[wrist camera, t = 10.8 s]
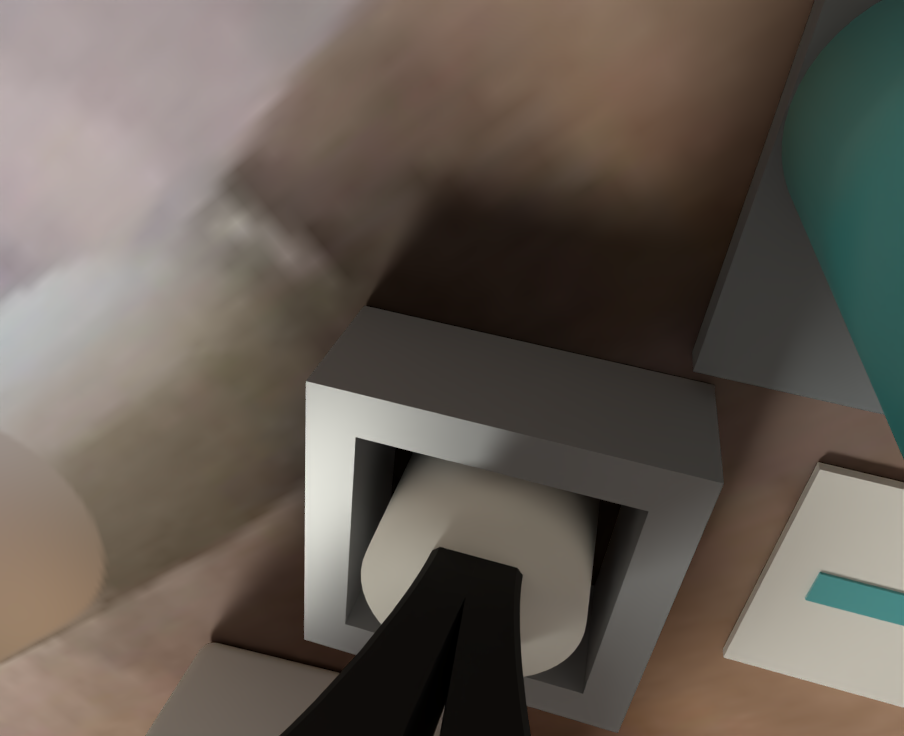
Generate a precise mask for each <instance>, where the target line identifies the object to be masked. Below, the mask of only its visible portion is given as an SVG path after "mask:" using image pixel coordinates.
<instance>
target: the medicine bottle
mask: <svg viewBox="0 0 904 736" xmlns="http://www.w3.org/2000/svg"><path fill="white" fill-rule="evenodd" d="M339 674H340V673H339V672H335V671H330V670H326V669H322V668H318V667H314V666H310V665H306V664H302V663H298V662H294V661H290V660H286V659H281V658H277V657H273V656H269V655H265V654H261V653H257V652H253V651H249V650H245V649H241V648H236V647H232V646H228V645H224V644H220V643H208V644H206V645H205V646H204V647H203V648H202V649H200V650H199V652H198V654H197V655H196V657H195V658H194V660H193V661H192V663H191V665H190V666H189V668H188V669H187V671H186V672H185V674H184V676H183V677H182V679H181V680H180V682H179V683H178V685H177V687H176V688H175V690H174V691H173V693H172V694H171V696H170V698H169V699H168V701H167V702H166V704H165V705H164V707H163V709H162V710H161V712H160V713H159V715H158V717H157V718H156V720H155V721H154V723H153V724H152V726H151V728H150V729H149V731H148V732H147V734H146V735H145V736H279V735H280V734H281V733H283V732H284V731H285V730H286V729H287V728H288V727H289V726H290V725H291V724H292V723H293V722H294V721H295V720H296V719H297V718H298V717H299V716H300V715H301V714H302V713H303V712H304V711H305V710H306V709H307V708H308V707H309V706H310V705H311V704H312V703H313V702H314V701H315V700H316V699H317V698H318V697H319V695H320V694H321V693H322V692H323V691H324V690H325V689H326V688H327V687H328V686H329V685H330V683H331V682H332V681H333V680H334V679H335V678H336V677H337V676H338V675H339ZM444 708H445V706H444ZM443 713H444V709H443V712H442V714H441V717H440V720H439V722H438V725H437V728H436V731H435V733H434V736H439V735H440V730H441V724H442V719H443Z"/></svg>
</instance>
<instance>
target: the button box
mask: <svg viewBox="0 0 904 736" xmlns="http://www.w3.org/2000/svg"><path fill="white" fill-rule="evenodd" d="M396 447H397V448H401V449H405V450H409V451H413V452H417V453H420V454H424V455H428V456H432V457H436V458H440V459H444V460H448V461H452V462H456V463H460V464H464V465H468V466H472V467H476V468H480V469H483V470H487V471H491V472H495V473H499V474H503V475H507V476H511V477H515V478H519V479H523V480H527V481H531V482H535V483H539V484H542V485H546V486H550V487H554V488H558V489H562V490H566V491H570V492H574V493H578V494H582V495H586V496H590V497H594V498H598V499H601V500H605V501H609V502H613V503H617V504H621V508H620V511H619V514H618V517H617V520H616V523H615V526H614V529H613V532H612V535H611V538H610V541H609V544H608V547H607V550H606V553H605V556H604V559H603V562H602V565H601V568H600V571H599V574H598V577H597V580H596V583H595V586H594V585H591V588H590V597H589V605H588V614H587V623H586V628H585V632H584V635H583V637H582V640H581V642H580V644H579V645H578V646H577V648H576V649H575V651H574V652H573V653H572V654H571V655H570V656H569V657H568V658H567V659H565V660H564V661H563V662H561V663H560V664H558V665H557V666H555V667H553V668H551V669H549V670H546V671H543V672H540V673H538V674H534V675H529V676H525V677H523V678H524V687H525V696H526V705H527V706H529V707H532V708H535V709H539V710H542V711H546V712H549V713H552V714H556V715H559V716H562V717H566V718H569V719H572V720H576V721H579V722H582V723H586V724H589V725H592V726H596V727H599V728H602V729H606V730H609V731H612V732H616V733H618V731H619V729H620V727H621V724H622V722H623V719H624V717H625V715H626V712H627V710H628V708H629V705H630V703H631V701H632V698H633V696H634V694H635V691H636V689H637V687H638V684H639V682H640V680H641V677H642V675H643V672H644V670H645V668H646V665H647V663H648V661H649V658H650V656H651V654H652V651H653V649H654V647H655V644H656V642H657V640H658V637H659V635H660V633H661V630H662V628H663V625H664V623H665V621H666V618H667V616H668V614H669V611H670V609H671V607H672V604H673V602H674V600H675V597H676V595H677V593H678V590H679V588H680V586H681V583H682V581H683V578H684V576H685V574H686V571H687V569H688V567H689V564H690V562H691V560H692V557H693V555H694V553H695V550H696V548H697V546H698V543H699V541H700V539H701V536H702V534H703V531H704V529H705V527H706V524H707V522H708V520H709V517H710V515H711V513H712V510H713V508H714V506H715V503H716V501H717V499H718V496H719V494H720V492H721V489H722V487H723V484H724V480H723V470H722V459H721V449H720V439H719V429H718V418H717V408H716V398H715V388H714V385H712V384H707V383H703V382H699V381H694V380H690V379H685V378H681V377H677V376H672V375H668V374H663V373H659V372H655V371H650V370H646V369H641V368H637V367H633V366H628V365H624V364H619V363H615V362H611V361H606V360H602V359H597V358H593V357H589V356H584V355H580V354H575V353H571V352H566V351H562V350H558V349H553V348H549V347H544V346H540V345H536V344H531V343H527V342H522V341H518V340H514V339H509V338H505V337H500V336H496V335H492V334H487V333H483V332H478V331H474V330H470V329H465V328H461V327H456V326H452V325H448V324H443V323H439V322H434V321H430V320H426V319H421V318H417V317H412V316H408V315H403V314H399V313H395V312H390V311H386V310H381V309H377V308H373V307H368V306H364V307H363V308H362V309H361V311H360V312H359V313H358V314H357V316H356V317H355V318H354V320H353V321H352V322H351V324H350V325H349V326H348V327H347V329H346V330H345V331H344V333H343V334H342V335H341V337H340V338H339V339H338V340H337V342H336V343H335V344H334V346H333V347H332V348H331V349H330V351H329V352H328V353H327V355H326V356H325V357H324V359H323V360H322V361H321V362H320V364H319V365H318V366H317V368H316V369H315V370H314V371H313V373H312V374H311V375H310V377H309V378H308V379H307V381H306V453H305V583H304V640H308V641H311V642H314V643H318V644H321V645H325V646H328V647H331V648H335V649H338V650H341V651H345V652H348V653H351V654H355V655H357V654H358V652H359V651H360V650H361V649H362V648H363V646H364V645H365V644H366V643H367V642H368V640H369V639H370V638H371V637H372V635H373V634H374V633H375V632H376V630H377V629H378V628H379V627H380V626H381V623H380V622H379V621H378V620H377V618H376V617H375V615H374V614H373V612H372V611H371V609H370V607H369V605H368V603H367V601H366V598H365V595H364V593H363V588H362V583H361V567H362V561H363V559H364V556H365V553H366V551H367V549H368V547H369V544H370V542H371V540H372V538H373V536H374V534H375V532H376V530H377V528H378V525H379V523H380V521H381V519H382V517H383V515H384V513H385V511H386V508H387V506H388V504H389V502H390V500H391V493H392V482H393V472H394V461H395V451H396Z"/></svg>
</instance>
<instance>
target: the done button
mask: <svg viewBox="0 0 904 736" xmlns="http://www.w3.org/2000/svg"><path fill="white" fill-rule="evenodd" d="M599 509H600V499H598V498H594V497H590V496H586V495H582V494H578V493H574V492H570V491H566V490H562V489H558V488H554V487H550V486H546V485H542V484H539V483H535V482H531V481H527V480H523V479H519V478H515V477H511V476H507V475H503V474H499V473H495V472H491V471H487V470H483V469H480V468H476V467H472V466H468V465H464V464H460V463H456V462H452V461H448V460H444V459H440V458H436V457H432V456H428V455H424V454H420V453H417V452H413V453H412V456H411V458H410V460H409V462H408V464H407V466H406V468H405V470H404V472H403V475H402V477H401V479H400V481H399V483H398V485H397V487H396V489H395V492H394V494H393V496H392V498H391V500H390V502H389V504H388V506H387V508H386V511H385V513H384V515H383V517H382V519H381V521H380V523H379V525H378V528H377V530H376V532H375V534H374V536H373V538H372V540H371V542H370V544H369V547H368V549H367V551H366V553H365V556H364V559H363V561H362V567H361V583H362V588H363V593H364V595H365V598H366V601H367V603H368V605H369V607H370V609H371V611H372V612H373V614H374V615H375V617H376V618H377V620H378V621H379V622H380V623H381V624H382V623H383V622H384V621H385V619H386V618H387V617H388V616H389V614H390V613H391V612H392V610H393V609H394V608H395V606H396V605H397V604H398V602H399V601H400V600H401V598H402V597H403V596H404V594H405V593H406V591H407V590H408V589H409V587H410V586H411V584H412V583H413V581H414V580H415V578H416V577H417V575H418V574H419V572H420V570H421V569H422V567H423V566H424V564H425V562H426V561H427V559H428V557H429V555H430V553H431V552H432V550H434V549H436V548H439V547H443V548H446V549H450V550H454V551H457V552H461V553H465V554H468V555H472V556H476V557H479V558H483V559H487V560H490V561H494V562H498V563H502V564H505V565H509V566H513V567H516V568H518V569H519V571H520V572H521V573H522V574H523V578H522V585H521V598H520V637H521V656H522V669H523V677H525V676H529V675H534V674H538V673H540V672H543V671H546V670H549V669H551V668H553V667H555V666H557V665H558V664H560V663H561V662H563V661H564V660H565V659H567V658H568V657H569V656H570V655H571V654H572V653H573V652H574V651H575V649H576V648H577V646H578V645H579V644H580V642H581V640H582V637H583V635H584V632H585V628H586V623H587V614H588V605H589V597H590V588H591V579H592V570H593V562H594V553H595V544H596V536H597V527H598V518H599Z"/></svg>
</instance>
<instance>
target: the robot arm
mask: <svg viewBox="0 0 904 736" xmlns="http://www.w3.org/2000/svg"><path fill="white" fill-rule="evenodd" d="M522 578H523V574H522V573H521V572H520V571H519V569H518V568H516V567H513V566H509V565H505V564H502V563H498V562H494V561H490V560H487V559H483V558H479V557H476V556H472V555H468V554H465V553H461V552H457V551H454V550H450V549H446V548H443V547H439V548H436V549H434V550H432V552H431V553H430V555H429V557H428V559H427V561H426V562H425V564H424V566H423V567H422V569H421V570H420V572H419V574H418V575H417V577H416V578H415V580H414V581H413V583H412V584H411V586H410V587H409V589H408V590H407V591H406V593H405V594H404V596H403V597H402V598H401V600H400V601H399V602H398V604H397V605H396V606H395V608H394V609H393V610H392V612H391V613H390V614H389V616H388V617H387V618H386V619H385V621H384V622H383V623H382V624H381V626H380V627H379V628H378V629H377V630H376V632H375V633H374V634H373V635H372V637H371V638H370V639H369V640H368V642H367V643H366V644H365V645H364V646H363V648H362V649H361V650H360V651H359V652H358V654H357V655H356V656H355V657H354V658H353V659H352V661H351V662H350V663H349V664H348V665H347V666H346V667H345V668H344V669H343V670H342V671H341V673H340V674H339V675H338V676H337V677H336V678H335V679H334V680H333V681H332V682H331V683H330V685H329V686H328V687H327V688H326V689H325V690H324V691H323V692H322V693H321V694H320V695H319V697H318V698H317V699H316V700H315V701H314V702H313V703H312V704H311V705H310V706H309V707H308V708H307V709H306V710H305V711H304V712H303V713H302V714H301V715H300V716H299V717H298V718H297V719H296V720H295V721H294V722H293V723H292V724H291V725H290V726H289V727H288V728H287V729H286V730H285V731H284V732H283V733H281V734H280V735H279V736H434V733H435V731H436V728H437V725H438V722H439V720H440V717H441V714H442V712H443V709H444V713H443V719H442V724H441V730H440V735H439V736H531V734H530V727H529V720H528V713H527V705H526V696H525V687H524V678H523V669H522V656H521V637H520V598H521V585H522ZM444 706H445V708H444Z"/></svg>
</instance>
